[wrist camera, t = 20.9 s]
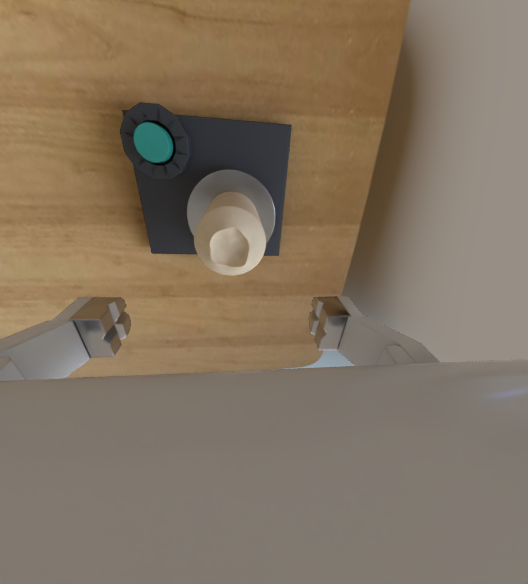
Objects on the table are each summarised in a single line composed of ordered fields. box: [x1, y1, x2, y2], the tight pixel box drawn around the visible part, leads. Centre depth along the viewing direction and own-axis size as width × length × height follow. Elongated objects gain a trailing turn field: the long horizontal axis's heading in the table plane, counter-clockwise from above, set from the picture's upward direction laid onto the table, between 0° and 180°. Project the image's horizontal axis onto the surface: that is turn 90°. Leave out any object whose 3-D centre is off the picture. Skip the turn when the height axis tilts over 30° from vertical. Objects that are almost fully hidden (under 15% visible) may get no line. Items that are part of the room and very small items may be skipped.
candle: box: [194, 192, 266, 275], centre depth 20 cm, size 6×6×10 cm
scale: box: [120, 102, 292, 256], centre depth 25 cm, size 16×14×4 cm
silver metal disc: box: [187, 169, 275, 243], centre depth 25 cm, size 10×10×1 cm
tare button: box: [134, 122, 173, 163], centre depth 21 cm, size 3×3×2 cm
